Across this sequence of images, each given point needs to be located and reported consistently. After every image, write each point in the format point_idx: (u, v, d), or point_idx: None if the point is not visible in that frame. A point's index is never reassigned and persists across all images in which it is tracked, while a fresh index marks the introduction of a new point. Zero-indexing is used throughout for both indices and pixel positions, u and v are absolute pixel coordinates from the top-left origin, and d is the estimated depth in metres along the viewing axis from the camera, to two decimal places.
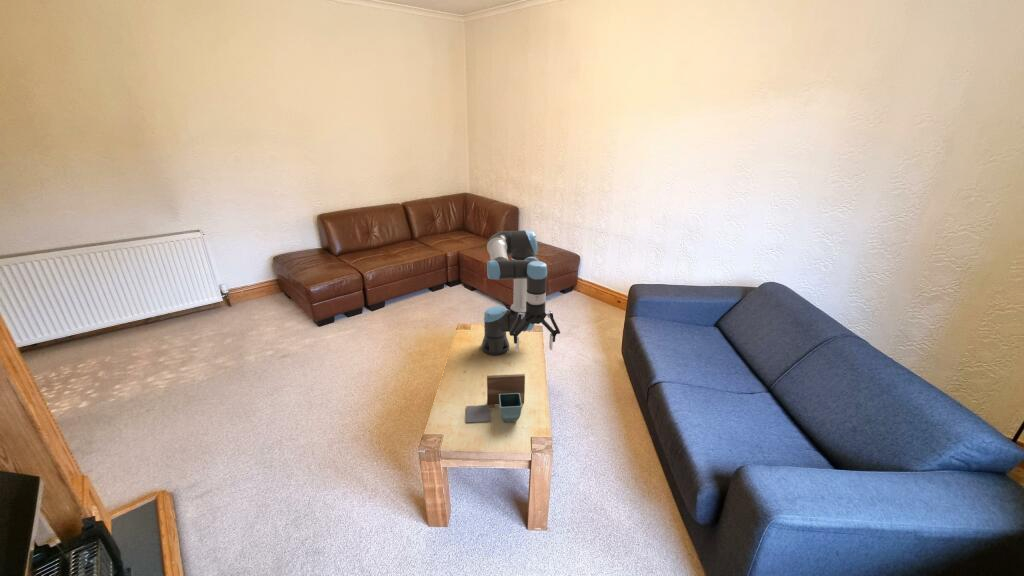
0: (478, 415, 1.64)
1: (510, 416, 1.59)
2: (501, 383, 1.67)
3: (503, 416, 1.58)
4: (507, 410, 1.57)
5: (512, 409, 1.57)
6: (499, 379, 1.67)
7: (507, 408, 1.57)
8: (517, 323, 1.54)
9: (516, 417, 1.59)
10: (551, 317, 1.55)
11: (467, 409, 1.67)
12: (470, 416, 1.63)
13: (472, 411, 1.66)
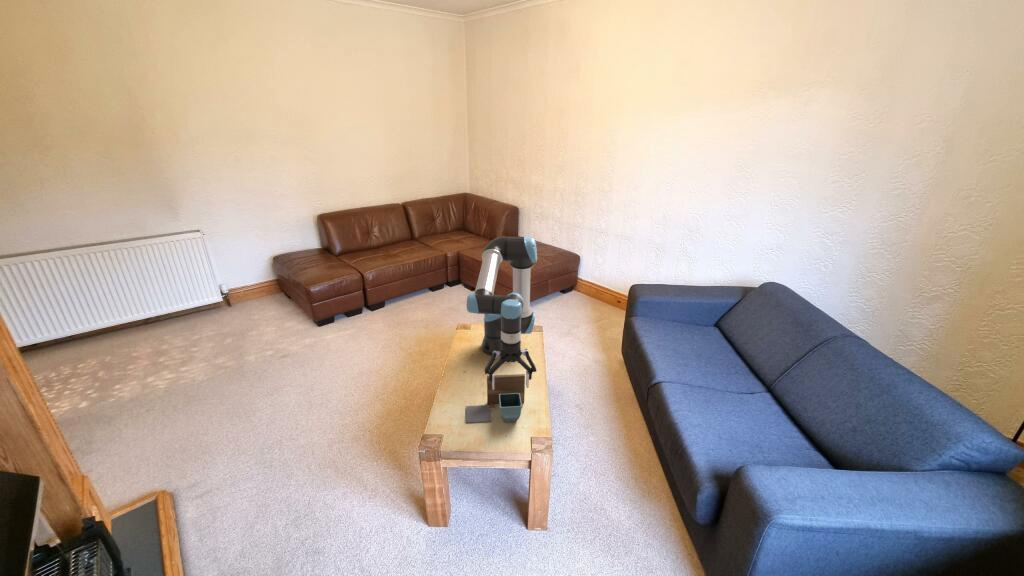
0: (478, 415, 1.64)
1: (510, 416, 1.59)
2: (501, 383, 1.67)
3: (503, 416, 1.58)
4: (507, 410, 1.57)
5: (512, 409, 1.57)
6: (499, 379, 1.67)
7: (507, 408, 1.57)
8: (492, 361, 1.51)
9: (516, 417, 1.59)
10: (527, 355, 1.52)
11: (467, 409, 1.67)
12: (470, 416, 1.63)
13: (472, 411, 1.66)
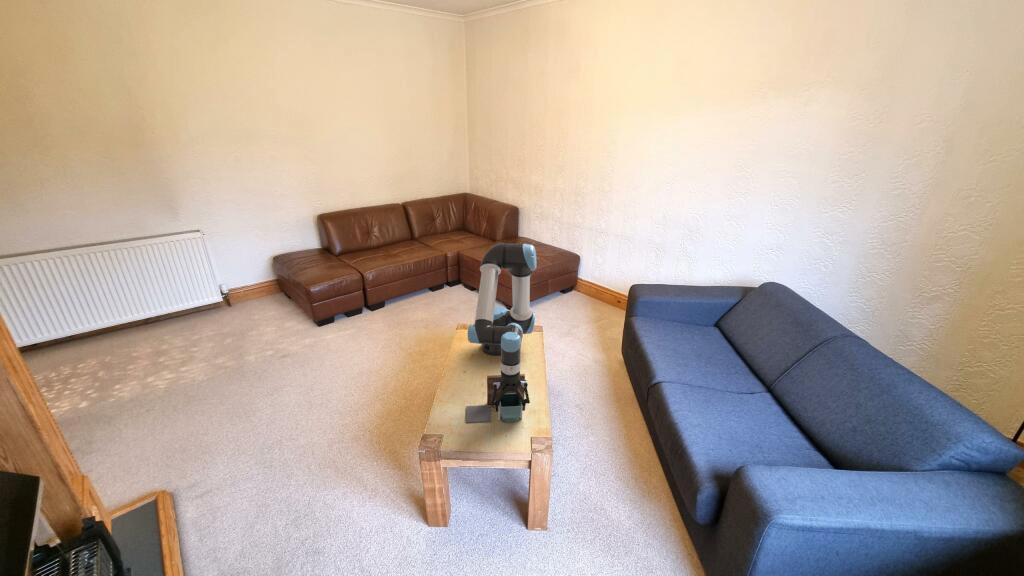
0: (478, 415, 1.64)
1: (510, 416, 1.59)
2: None
3: (503, 416, 1.58)
4: (507, 410, 1.57)
5: (512, 409, 1.57)
6: (499, 379, 1.67)
7: (507, 408, 1.57)
8: (494, 393, 1.57)
9: (515, 417, 1.59)
10: (525, 387, 1.57)
11: (467, 409, 1.67)
12: (470, 416, 1.63)
13: (472, 411, 1.66)
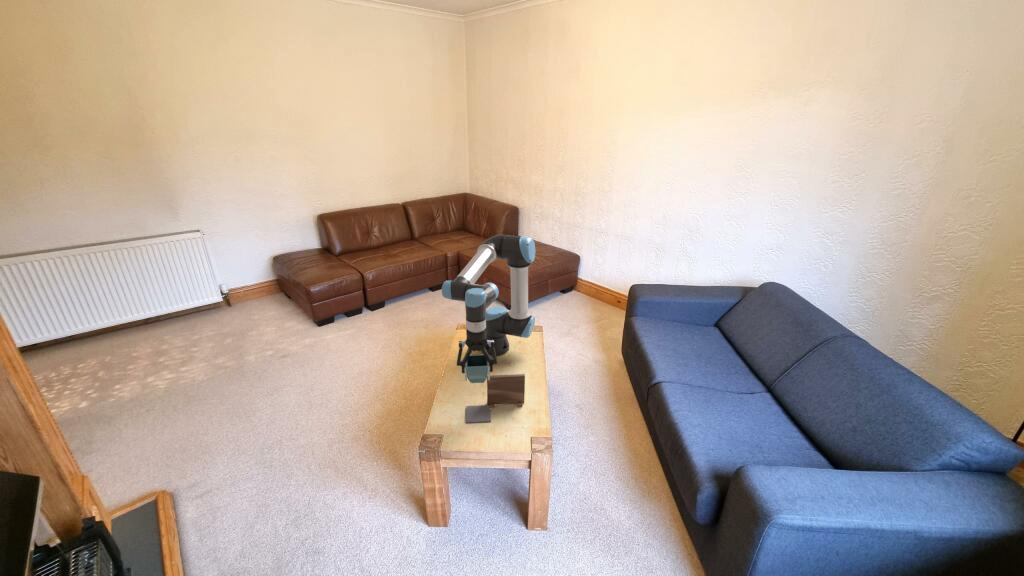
0: (478, 415, 1.64)
1: (476, 377, 1.54)
2: (501, 383, 1.67)
3: (469, 377, 1.53)
4: (473, 370, 1.52)
5: (478, 369, 1.52)
6: (499, 379, 1.67)
7: (473, 368, 1.52)
8: (460, 352, 1.52)
9: (482, 378, 1.54)
10: (491, 346, 1.52)
11: (467, 409, 1.67)
12: (470, 416, 1.63)
13: (472, 411, 1.66)
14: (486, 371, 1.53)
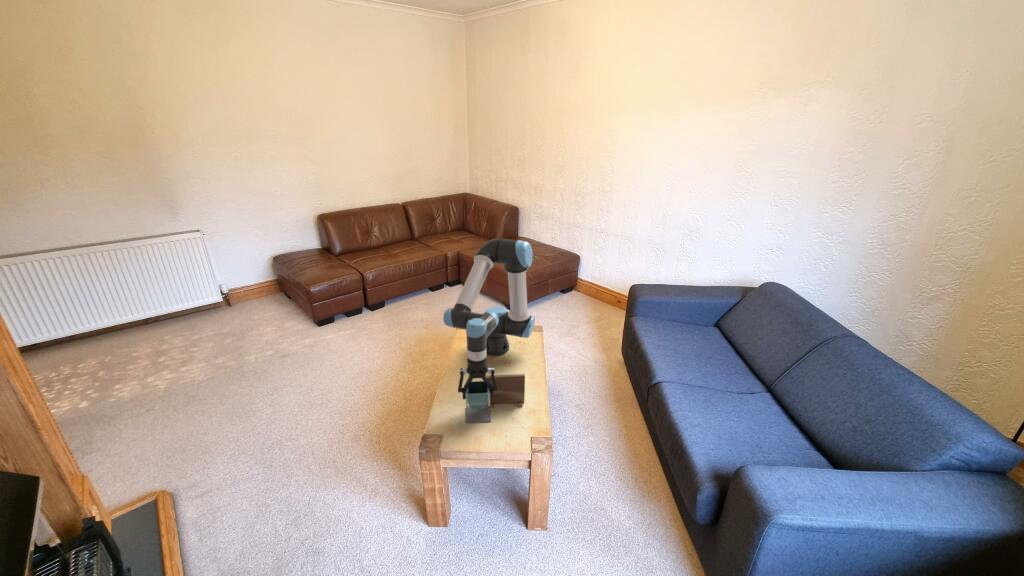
0: (478, 415, 1.64)
1: (477, 403, 1.58)
2: (501, 383, 1.67)
3: (470, 403, 1.58)
4: (474, 397, 1.57)
5: (479, 396, 1.57)
6: (499, 379, 1.67)
7: (474, 395, 1.56)
8: (461, 380, 1.57)
9: (483, 404, 1.59)
10: (492, 373, 1.57)
11: (467, 409, 1.67)
12: (470, 416, 1.63)
13: (472, 411, 1.66)
14: (486, 398, 1.57)
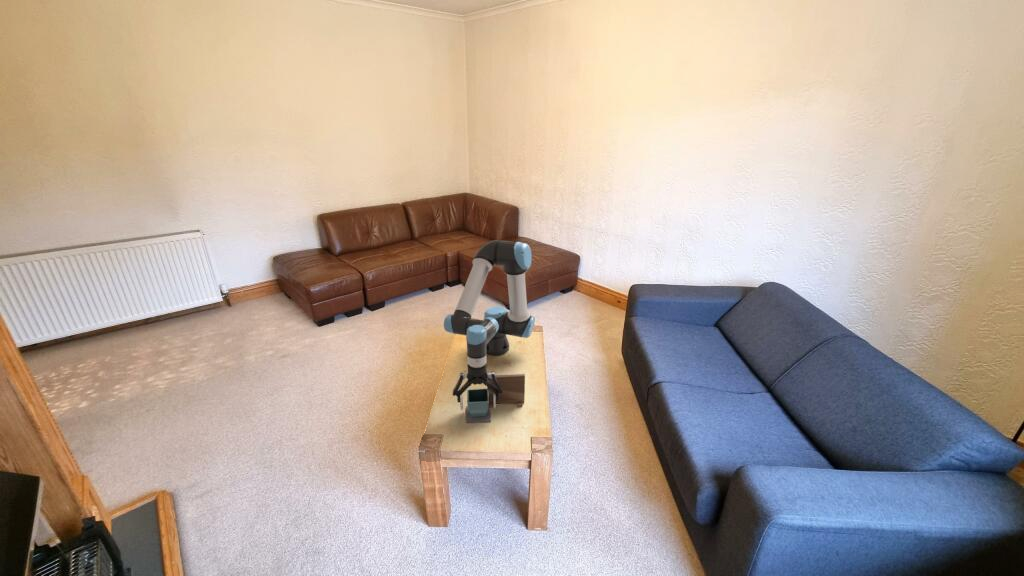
0: None
1: (477, 411, 1.60)
2: (501, 383, 1.67)
3: (470, 411, 1.60)
4: (474, 405, 1.59)
5: (479, 404, 1.59)
6: (499, 379, 1.67)
7: (474, 403, 1.58)
8: (459, 384, 1.57)
9: (483, 412, 1.61)
10: (493, 378, 1.58)
11: (467, 409, 1.67)
12: (470, 416, 1.63)
13: None
14: (487, 406, 1.59)
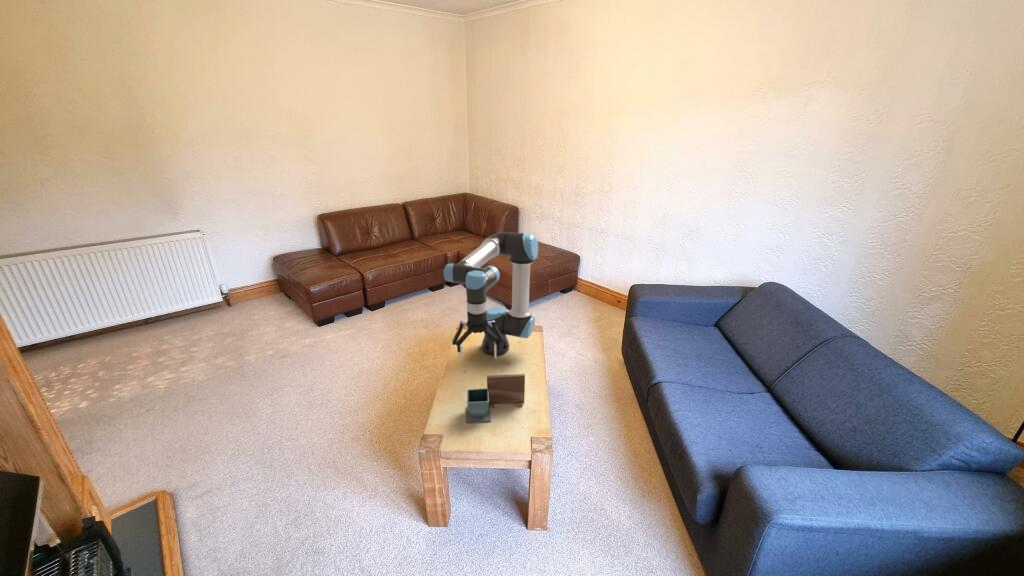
0: None
1: (477, 411, 1.60)
2: (501, 383, 1.67)
3: (470, 411, 1.60)
4: (474, 405, 1.59)
5: (479, 404, 1.59)
6: (499, 379, 1.67)
7: (474, 403, 1.58)
8: (459, 332, 1.54)
9: (483, 412, 1.61)
10: (493, 326, 1.54)
11: (467, 409, 1.67)
12: (470, 416, 1.63)
13: None
14: (487, 406, 1.59)
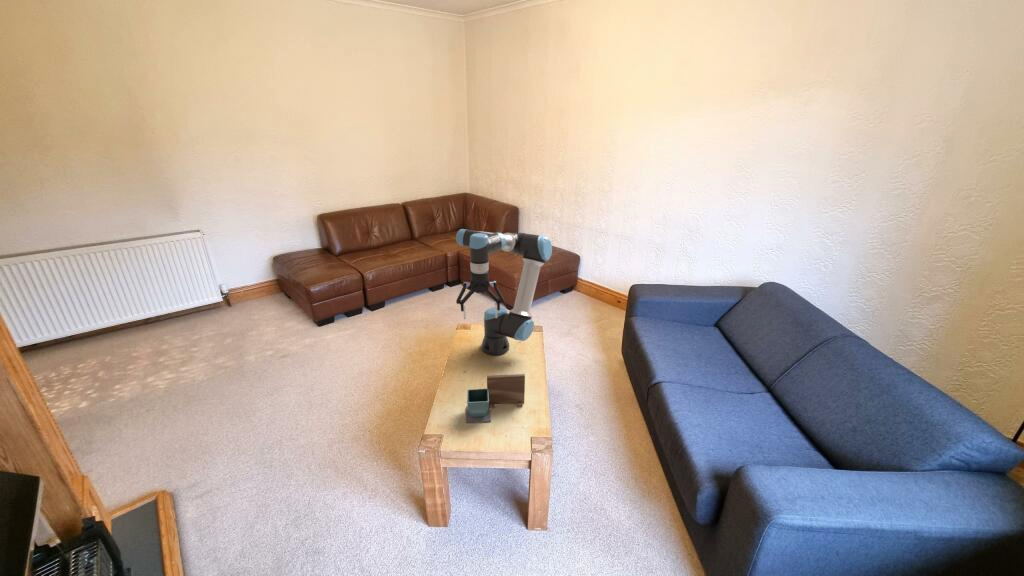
0: None
1: (477, 411, 1.60)
2: (501, 383, 1.67)
3: (470, 411, 1.60)
4: (474, 405, 1.59)
5: (479, 404, 1.59)
6: (499, 379, 1.67)
7: (474, 403, 1.58)
8: (463, 291, 1.65)
9: (483, 412, 1.61)
10: (494, 286, 1.66)
11: (467, 409, 1.67)
12: (470, 416, 1.63)
13: None
14: (487, 406, 1.59)
